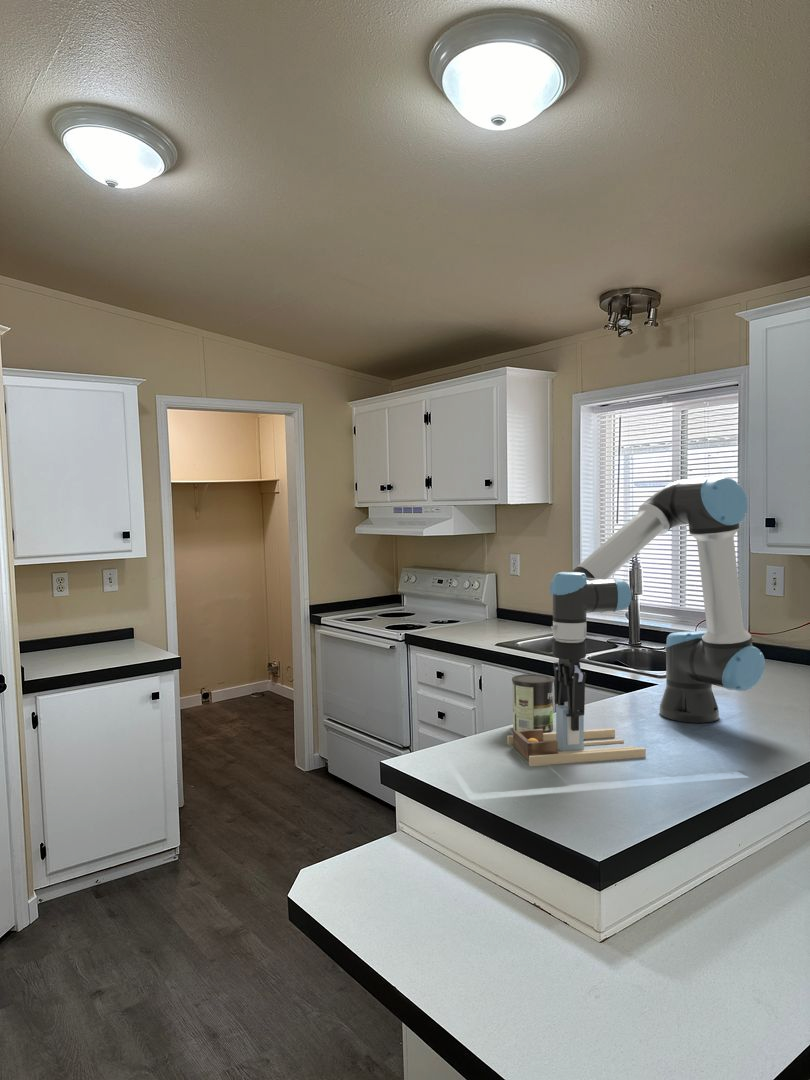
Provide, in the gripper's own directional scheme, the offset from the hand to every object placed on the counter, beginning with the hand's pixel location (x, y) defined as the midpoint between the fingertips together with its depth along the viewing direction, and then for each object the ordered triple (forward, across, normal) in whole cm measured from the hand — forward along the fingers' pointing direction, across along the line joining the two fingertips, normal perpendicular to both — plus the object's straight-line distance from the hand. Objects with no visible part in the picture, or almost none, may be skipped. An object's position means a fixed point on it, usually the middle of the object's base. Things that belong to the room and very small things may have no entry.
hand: (569, 740), depth 168 cm
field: (+3, 0, +1) cm, 4 cm away
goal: (+3, 0, -8) cm, 9 cm away
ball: (+1, 0, -9) cm, 9 cm away
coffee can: (+4, -18, -2) cm, 19 cm away
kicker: (+2, 0, 0) cm, 2 cm away
